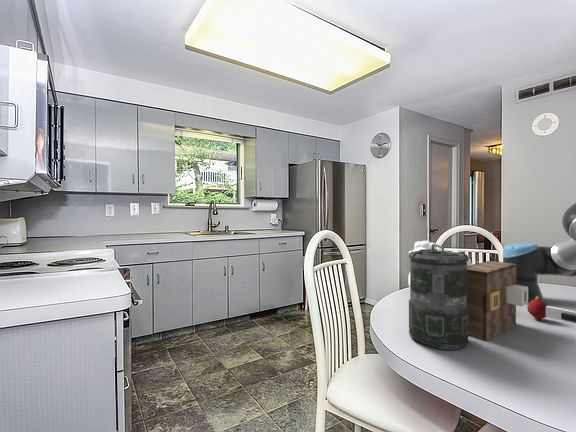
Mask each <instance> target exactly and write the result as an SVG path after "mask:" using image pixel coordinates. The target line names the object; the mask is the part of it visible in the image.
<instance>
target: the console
mask: <svg viewBox="0 0 576 432" xmlns="http://www.w3.org/2000/svg"><path fill="white" fill-rule="evenodd" d="M510 284H514V285H516V264H512V263H504V262H503V261H496V260H495V261H494V260H493V261H492V260H486V261H482V262H479V263H474V264H473V265H470V266H467V308H468V309H469V335H468V337H472V338H476V339H478V340H481V341H485V342H488V341H490V340H491V339H493V338H495V337H496V336H497V335H500V334H502V333H503V332H504V331H507V330H508V329H510V328H512V327H513V326H515V325H517V305H513V304H508V303H506V286H507V285H510ZM494 290H499V308H498V309H495V310H493V311H490V292H491V291H494Z"/></svg>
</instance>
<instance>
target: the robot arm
mask: <svg viewBox="0 0 576 432" xmlns="http://www.w3.org/2000/svg"><path fill="white" fill-rule="evenodd" d="M561 222H562V223H561V224H562V228H563V229H564V232H565V233H566V234H567V235H568V236H569V237H570V239H568V240H565V241H560V242H559V241H558V242H557V243H555V244H553V245H552V246H539V245H538V244H537V243H535V242H517V243H516V242H514V243H509V244H508V243H507V244H506V245H505V246H503V249H502V250H503V251H502V262H504V263H512V264H516V285H520V286H526V287H528V304H529V302H530V301H532V300H534V299H536V298H535V297H539V298H540V299H541V300H543V299H544V297H543V293H542V291H541V288H540V286H539V283H538V276H540V275H541V276H560V277H571V278H572V277H576V202H575V203H573V204H572V205H570V206H569V207H568V208H567V209H566V210H565V212H564V213H563V216H562V220H561ZM543 301H544V300H543ZM545 318H549V319H554V320H558V321H561V322H562V321H563V322H568V323H572V324H576V310H571V309H567V308H561V307H556V306H551V305H548V306H546V317H545Z"/></svg>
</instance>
